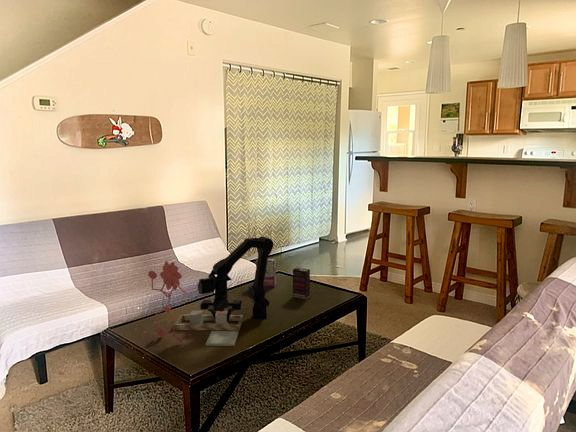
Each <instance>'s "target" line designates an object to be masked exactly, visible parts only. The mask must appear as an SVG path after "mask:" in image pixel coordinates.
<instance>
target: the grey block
mask: <svg viewBox="0 0 576 432" xmlns="http://www.w3.org/2000/svg"><path fill="white" fill-rule="evenodd" d="M189 315H190V320H189V324H204V320H203V315H204V310H191V312H190V313H189Z"/></svg>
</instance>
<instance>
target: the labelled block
mask: <svg viewBox="0 0 576 432" xmlns="http://www.w3.org/2000/svg"><path fill="white" fill-rule="evenodd" d="M227 314H228V312H227V310H224V311H222V312H221V311H217V313H216V315H215V320H216V322H215V324H229V322H228V323H227Z"/></svg>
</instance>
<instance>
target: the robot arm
mask: <svg viewBox="0 0 576 432" xmlns="http://www.w3.org/2000/svg"><path fill="white" fill-rule="evenodd" d="M252 248H255V249H256V250H257V259H258V260H257V259H256V260H257V266H256V265H255V272H254V273H255V274H254V278H253V280H254V281H253V284H252V285H249V286H248V292H247V293H246V294H247V295H248V298H249V299H250V300H251V302H252V303H253V306H252V317H253V319H267V318H268V307H269V306H270V301H269V299H267V298H266V291H265V287H264V286H263V284H264V278H265V272H266V266H267V260H268V259H269V256H270V255H271V253H272V251H273V248H274V241H273V239H271V238H269V237H267V236H263V235H262V236H260V237H246V238H245V239H244V240H243V242H241V243H240V245H238V246H237V247H236V248H235V249H234V250H232V251H231V253H229V255H227V256H226V257H225V258H223V259H220V260H218V261H217V262H216V263H214V265H213V266H212V269H211V271H210V273H209V274H208V276H207V277H208V278H199V279H198V283H197V291H198V293H199V295H205V294H209V293H210V294H211V293H213V292H214V299H213V302H212V300H211V299H203V300H202V301H201V303H200V305H199V306H200V308H199V309H200V311H204V310H205V311H207V312H210V313H211V315H213V317H214V319H215V315H216V313H217V311H221V312H222V311H225V310H226V309H227V310H226V311H227V312H228V314H227V323H228V324H229V322H230V321H229V318H230V315H232V314H231V313H232V312H234V311H241V310H242V308H243V301H242V300H241V299H234V300H233V301H232V302H229V299H228V298H229V297H228V281H232V278H231V277H230V276H229V273H230V272H231V271H232V269H233V267H234V265H235V264H236V263H237V262H239V260H241V258H242V257H243V256H244V255H246V254H247V253H248V252H249V251H250V250H251V249H252ZM214 323H216V320H215V322H214Z"/></svg>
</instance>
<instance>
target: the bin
mask: <svg viewBox="0 0 576 432" xmlns="http://www.w3.org/2000/svg"><path fill="white" fill-rule="evenodd" d="M183 321H190V314H180V315H179V317H178V318H177V320H175V321H174V330H175V331H238V332H239V331H240V329H241V326H242V325H243V321H244V315H243V314H230V318H229V321H228V322H237V324H229V323H228V324H216V323H203V324H190V323H182V322H183ZM203 321H205V322H206V321H212V322H213V321H215V319H214V317H213V315H212V314H203ZM174 330H173V331H174Z"/></svg>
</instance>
